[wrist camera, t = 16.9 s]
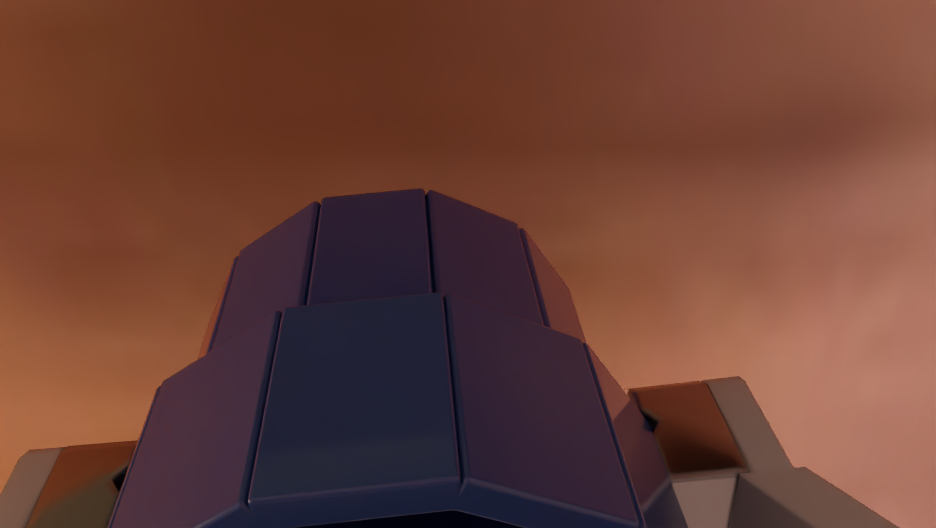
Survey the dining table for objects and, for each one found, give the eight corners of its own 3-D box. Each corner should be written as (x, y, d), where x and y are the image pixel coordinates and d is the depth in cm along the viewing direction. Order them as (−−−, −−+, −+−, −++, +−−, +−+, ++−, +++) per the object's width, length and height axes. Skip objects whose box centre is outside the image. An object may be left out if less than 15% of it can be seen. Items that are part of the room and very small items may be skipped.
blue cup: (131, 187, 10) (-67, 536, 6) (602, 143, 11) (759, 446, 6) (240, 497, 14) (169, 859, 10) (589, 459, 14) (682, 796, 10)
